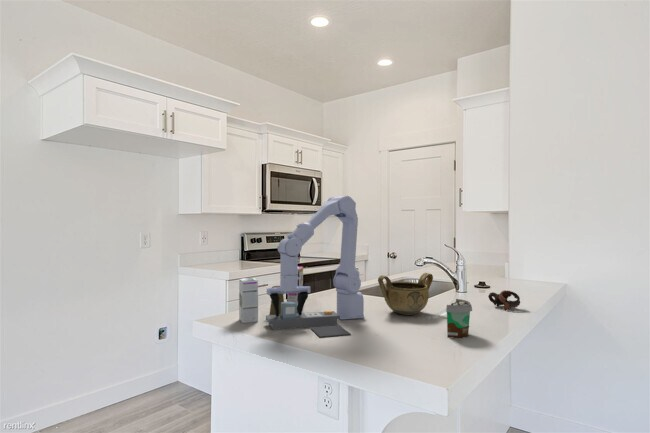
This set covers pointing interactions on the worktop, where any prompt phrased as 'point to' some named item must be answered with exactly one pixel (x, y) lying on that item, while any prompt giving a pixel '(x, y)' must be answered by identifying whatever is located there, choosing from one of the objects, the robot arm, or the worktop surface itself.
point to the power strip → (304, 320)
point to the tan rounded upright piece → (281, 299)
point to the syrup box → (248, 300)
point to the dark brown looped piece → (505, 299)
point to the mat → (330, 331)
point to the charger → (288, 310)
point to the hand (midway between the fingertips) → (288, 315)
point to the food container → (458, 318)
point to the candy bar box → (294, 296)
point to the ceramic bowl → (406, 294)
